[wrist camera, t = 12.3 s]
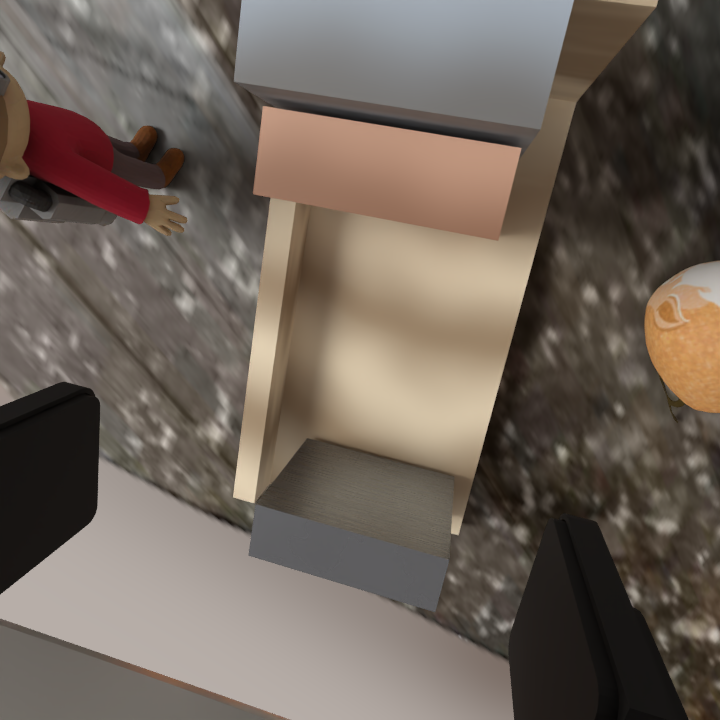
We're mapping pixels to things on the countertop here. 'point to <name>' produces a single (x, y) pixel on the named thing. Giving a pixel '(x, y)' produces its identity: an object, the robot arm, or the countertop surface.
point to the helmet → (687, 336)
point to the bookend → (358, 522)
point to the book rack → (403, 213)
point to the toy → (78, 167)
